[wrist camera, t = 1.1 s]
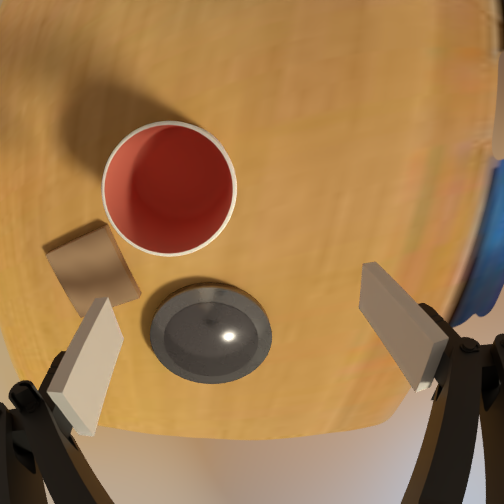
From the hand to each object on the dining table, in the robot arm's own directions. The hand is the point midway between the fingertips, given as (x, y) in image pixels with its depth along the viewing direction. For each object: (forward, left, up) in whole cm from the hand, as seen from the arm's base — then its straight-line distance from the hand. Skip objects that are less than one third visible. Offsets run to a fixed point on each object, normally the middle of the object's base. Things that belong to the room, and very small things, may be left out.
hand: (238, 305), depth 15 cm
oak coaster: (+6, -16, -18) cm, 25 cm away
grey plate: (+16, -3, -18) cm, 24 cm away
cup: (-4, -4, -19) cm, 20 cm away
